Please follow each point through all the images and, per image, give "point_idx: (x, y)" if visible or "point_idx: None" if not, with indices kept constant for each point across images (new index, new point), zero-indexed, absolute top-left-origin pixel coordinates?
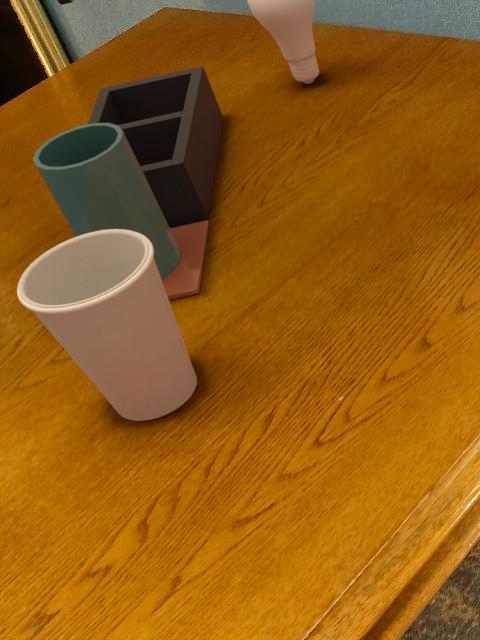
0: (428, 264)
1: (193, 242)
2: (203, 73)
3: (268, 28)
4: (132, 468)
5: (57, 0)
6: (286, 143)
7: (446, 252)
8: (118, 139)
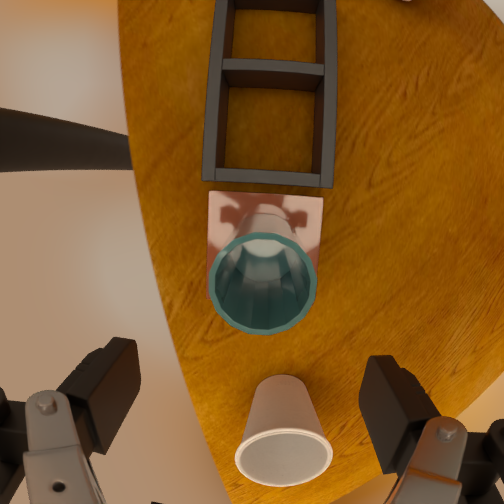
0: (456, 327)
1: (310, 231)
2: None
3: None
4: None
5: (359, 407)
6: (390, 85)
7: (468, 318)
8: (312, 297)
